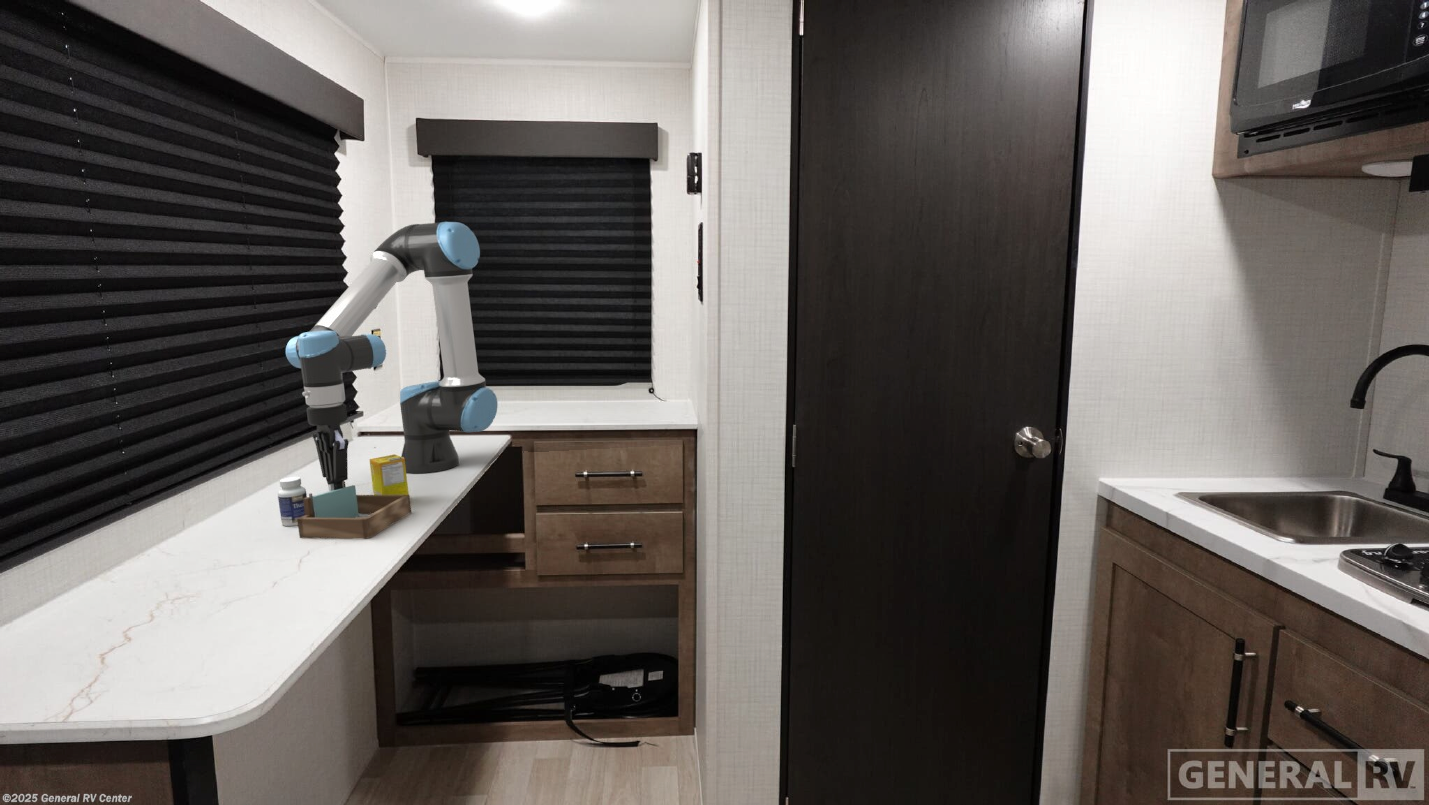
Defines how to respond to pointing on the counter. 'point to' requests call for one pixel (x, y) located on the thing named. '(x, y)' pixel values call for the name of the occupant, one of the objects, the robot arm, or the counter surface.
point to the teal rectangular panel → (336, 503)
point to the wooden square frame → (382, 516)
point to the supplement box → (389, 475)
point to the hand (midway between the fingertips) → (339, 510)
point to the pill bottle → (291, 500)
